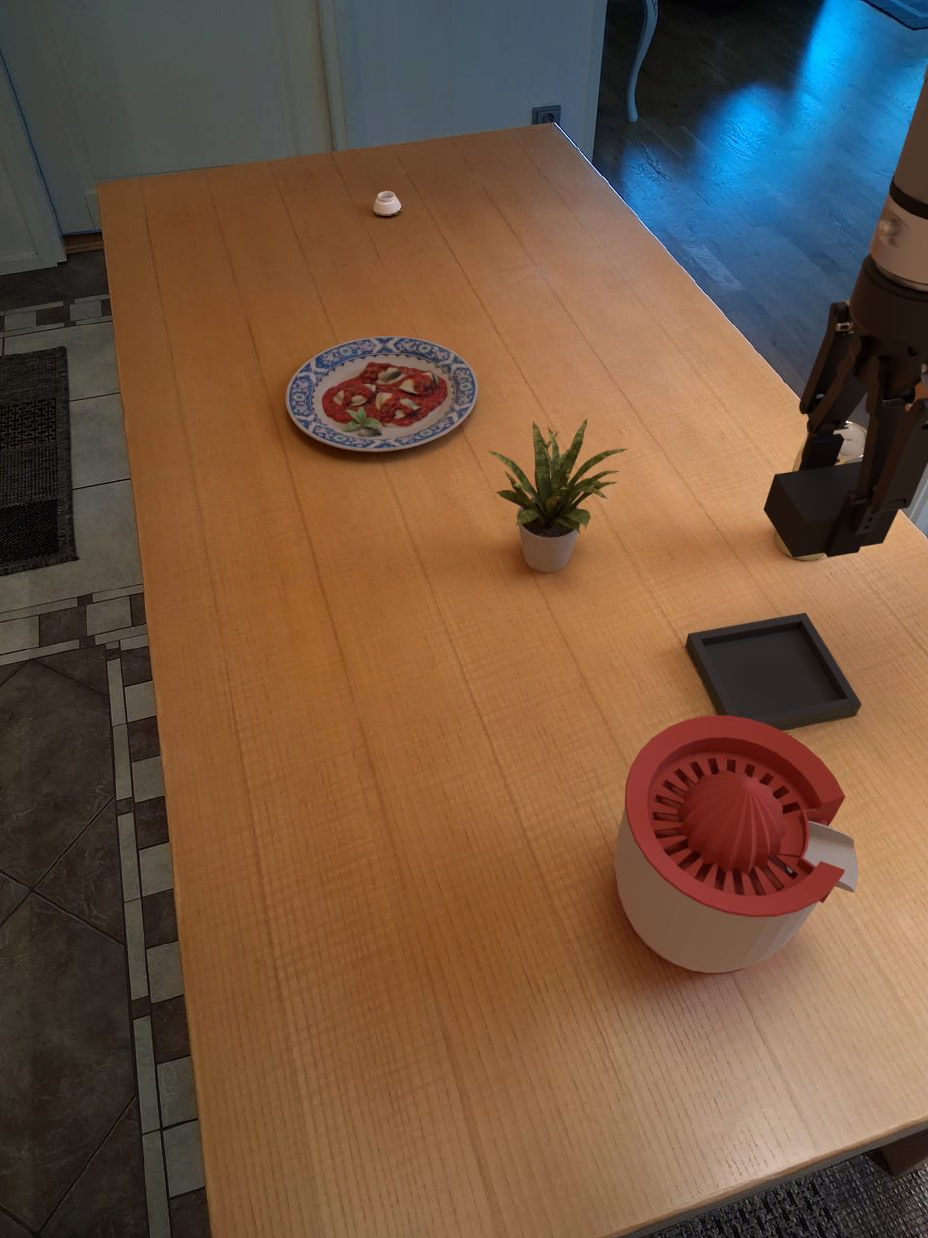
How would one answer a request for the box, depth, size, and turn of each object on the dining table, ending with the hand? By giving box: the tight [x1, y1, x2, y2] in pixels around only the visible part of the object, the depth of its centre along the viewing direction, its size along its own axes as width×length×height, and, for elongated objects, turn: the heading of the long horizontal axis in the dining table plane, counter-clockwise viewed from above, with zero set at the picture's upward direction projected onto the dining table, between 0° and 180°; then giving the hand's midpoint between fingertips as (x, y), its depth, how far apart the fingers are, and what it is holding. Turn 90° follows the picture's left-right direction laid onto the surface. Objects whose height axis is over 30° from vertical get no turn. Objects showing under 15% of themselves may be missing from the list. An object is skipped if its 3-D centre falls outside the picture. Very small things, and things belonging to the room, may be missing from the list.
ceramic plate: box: [285, 335, 479, 453], centre depth 121 cm, size 26×26×3 cm
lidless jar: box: [372, 190, 402, 214], centre depth 157 cm, size 5×3×5 cm
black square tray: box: [685, 612, 862, 731], centre depth 90 cm, size 13×12×2 cm
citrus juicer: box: [614, 715, 859, 975], centre depth 68 cm, size 16×17×20 cm
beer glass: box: [773, 419, 867, 562], centre depth 97 cm, size 7×7×15 cm
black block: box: [763, 461, 899, 559], centre depth 74 cm, size 8×6×4 cm
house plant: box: [487, 417, 629, 574], centre depth 96 cm, size 14×14×16 cm
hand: (822, 523), depth 76 cm, fingers closed on black block, 6 cm apart
